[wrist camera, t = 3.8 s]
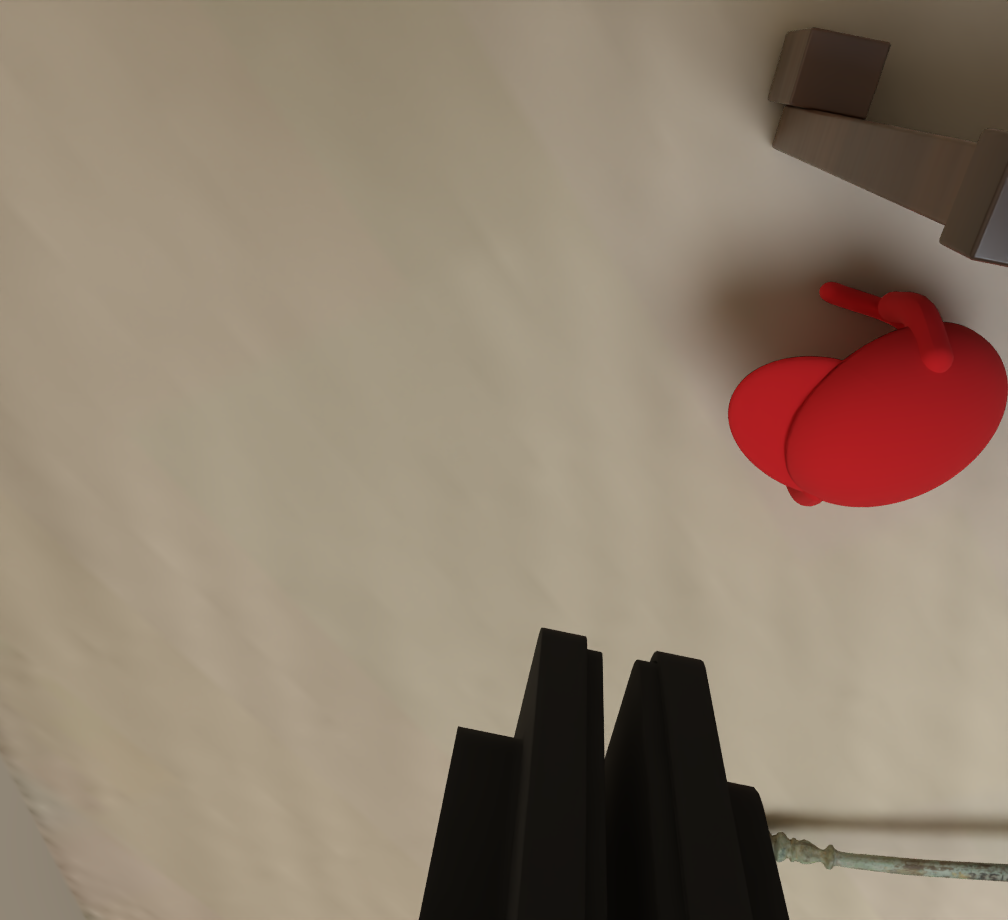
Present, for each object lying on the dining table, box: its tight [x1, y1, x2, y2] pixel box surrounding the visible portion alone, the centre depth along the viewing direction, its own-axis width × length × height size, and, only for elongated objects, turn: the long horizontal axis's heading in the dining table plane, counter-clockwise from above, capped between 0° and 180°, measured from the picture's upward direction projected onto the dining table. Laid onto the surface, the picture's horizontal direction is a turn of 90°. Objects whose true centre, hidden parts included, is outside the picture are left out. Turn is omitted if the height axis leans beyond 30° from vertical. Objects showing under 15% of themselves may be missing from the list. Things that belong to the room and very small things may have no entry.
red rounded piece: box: [728, 282, 1008, 507], centre depth 25 cm, size 8×6×6 cm
